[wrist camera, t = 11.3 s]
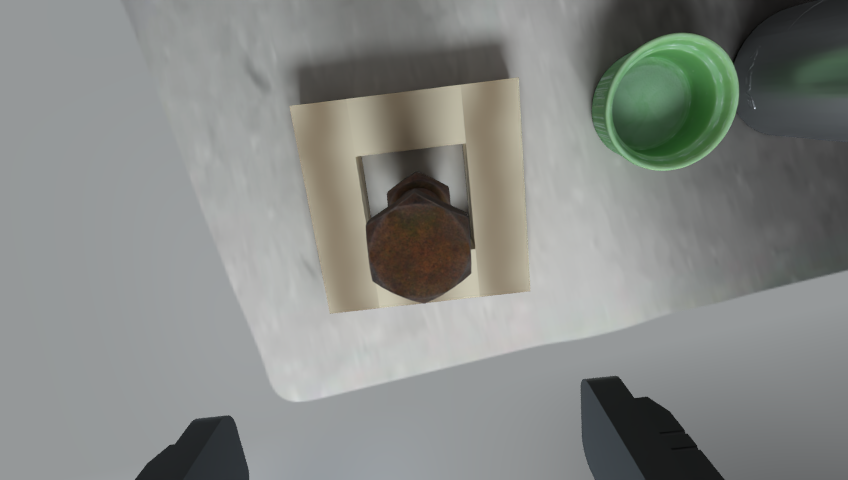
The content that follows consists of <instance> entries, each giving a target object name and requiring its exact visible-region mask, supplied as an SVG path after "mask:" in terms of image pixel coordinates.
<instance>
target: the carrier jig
mask: <svg viewBox="0 0 848 480" xmlns="http://www.w3.org/2000/svg"><path fill="white" fill-rule="evenodd" d="M290 111H291V117H292V122H293V127H294V132H295V137H296V142H297V147H298V152H299V157H300V163H301V168H302V173H303V178H304V183H305V188H306V193H307V198H308V203H309V209H310V214H311V219H312V224H313V229H314V234H315V239H316V244H317V249H318V254H319V260H320V265H321V270H322V275H323V280H324V285H325V290H326V295H327V300H328V306H329V311H330V314H331V313H340V312H349V311H358V310H367V309H376V308H385V307H394V306H403V305H412V304H420V303H419V302H415V301H412V300H409V299H406V298H403V297H401V296H398V295H396V294H393V293H391V292H389V291H388V290H386V289H384V288H382V287H381V286H379V285H377V284H376V283H374V282H373V281H372V277H371V273H370V267H369V259H368V250H367V241H366V224H367V222H368V220H369V219H371V215H370V209H369V202H368V196H367V190H366V183H365V177H364V171H363V164H362V158H361V156H366V155H374V154H382V153H390V152H399V151H407V150H415V149H423V148H432V147H440V146H448V145H456V144H463V154H464V165H465V176H466V186H467V197H468V208H469V219H470V230H471V238H470V244H471V263H472V265H471V274H470V275H469V276H468V277H467V278H466V279H464V280H463V281H462V282H461V283H459V284H458V285H457V286H455V287H454V288H452V289H451V290H449V291H448V292H446V293H445V294H443V295H442V296H440V297H438V298H436V299H434V300H432V301H429V302H438V301H447V300H456V299H465V298H474V297H483V296H492V295H501V294H510V293H518V292H527V291H530V276H529V258H528V240H527V222H526V204H525V186H524V168H523V149H522V131H521V113H520V95H519V77H518V78H510V79H502V80H494V81H486V82H478V83H470V84H462V85H454V86H446V87H438V88H430V89H422V90H414V91H406V92H398V93H390V94H382V95H374V96H366V97H358V98H350V99H342V100H334V101H326V102H318V103H310V104H302V105H294V106H290ZM429 302H427V303H429Z"/></svg>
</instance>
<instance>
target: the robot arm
mask: <svg viewBox="0 0 848 480" xmlns="http://www.w3.org/2000/svg"><path fill="white" fill-rule="evenodd" d="M734 67H735V70H736V72H737V76H738V82H739V101H738V106H737V113H738V115H739V116H740V118H741V119H742V120H743V121H744V122H745V123H746V124H747V125H748V126H750V127H751V128H753V129H754V130H756V131H758V132H761V133H764V134H767V135H775V136H786V137H797V138H808V139H816V140H827V141H839V142H848V0H816V1H812V2H808V3H805V4H801V5H797V6H793V7H790V8H787V9H785V10H782V11H779V12H777V13H776V14H774V15H772V16H770V17H769V18H767V19H766V20H765V21H763V22H762V23H761V24H760V25H759V26H757V27H756V28H755V29H754V31H753V32H752V33H751V34H750V35H749V36H748V38H747V39H746V40H745V42H744V43H743V45H742V47H741V49H740V50H739V52H738V54H737V57H736V59H735V62H734ZM581 415H582V416H581V419H582V442H583V447H584V452H585V456H586V459H587V462H588V465H589V468H590V470H591V472H592V474H593V476H594V479H595V480H724V478H723V477H722V476H721V475H720V473H719V472H718V471H717V470H716V469H715V467H714V466H713V465H712V464H711V462H710V461H709V460H708V459H707V457H706V456H705V455H704V454H703V452H702V451H701V450H698V448H697V445H696V444H695V442H694V441H693V440H692V439H691V437H690V436H689V435H688V434H685V430H684V429H683V428H682V426H681V425H680V424H679V423H678V421H677V420H676V419H675V418H674V416H673V415H672V414H671V413H670V411H668V410H667V409H665V408H664V407H662V406H660V405H659V404H657V403H656V402H654V401H653V400H651V399H650V398H648V397H641V398H634V397H633V396H632V394H631V393H630V392H629V390H628V389H627V388H626V386H625V385H624V383H623V382H622V381H621V379H620V378H619V377H618V376H610V377H600V378H592V379H583V380H582V382H581ZM135 480H249V470H248V466H247V462H246V459H245V455H244V452H243V448H242V445H241V441H240V438H239V435H238V431H237V427H236V424H235V422H234V419H233V418H232V417H231V416H218V417H209V418H201V419H200V418H199V419H195V420H193V421H192V422H191V423H190V425H189V426H188V427H187V429H186V430H185V431H184V433H183V434H182V436H181V437H180V438H179V440H178V441H177V442H176V444H175V445H169V446H168V447H167V448H166V449H164V450H163V451H162V452H161V453H160V454H158V455H157V456H156V457H155V458H154V459H152V460H151V461H150V462H149V463H147V465H146V466H145V467H144V469H143V470H142V471H141V472H140V474H139V475H138V476H137V478H136V479H135Z"/></svg>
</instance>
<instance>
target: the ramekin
mask: <svg viewBox="0 0 848 480" xmlns="http://www.w3.org/2000/svg"><path fill="white" fill-rule="evenodd" d="M738 101H739V82H738V76H737V72H736V70H735V67H734V64H733V62H732V60H731V59H730V57H729V56H728V54H727V53H726V52H725V51H724V50H723V49H722V48H721V47H720V46H719V45H718V44H717V43H715V42H714V41H712V40H710V39H708V38H706V37H704V36H701V35H697V34H693V33H672V34H667V35H663V36H660V37H657V38H655V39H653V40H651V41H649V42H647V43H645V44H643V45H642V46H640V47H639V48H637V49H636V50H635V51H633V52H631V53H629V54H627V55H625V56H623V57H622V58H620V59H619V60H617V61H616V62H615V63H614V64H613V65H612V66H611V67H610V68H609V69H608V70H607V71H606V72H605V73H604V75H603V76H602V78H601V79H600V81H599V83H598V85H597V87H596V90H595V93H594V97H593V103H592V119H593V123H594V127H595V130H596V132H597V134H598V136H599V137H600V139H601V140H602V142H603V143H604V144H605V145H606V146H607V147H608V148H609V149H611V150H612V151H613V152H615V153H617V154H619V155H621V156H623V157H624V158H625V159H627V160H628V161H630V162H631V163H633V164H635V165H637V166H640V167H643V168H646V169H651V170H658V171H667V170H675V169H679V168H683V167H686V166H689V165H691V164H693V163H695V162H697V161H699V160H700V159H702V158H703V157H705V156H706V155H707V154H709V153H710V152H711V151H712V150H713V149H714V148H715V147H716V146H717V145H718V144H719V143H720V142H721V140H722V139H723V138H724V136H725V135H726V133H727V131H728V130H729V128H730V126H731V124H732V121H733V119H734V117H735V114H736V111H737V106H738Z"/></svg>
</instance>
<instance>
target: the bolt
mask: <svg viewBox="0 0 848 480" xmlns="http://www.w3.org/2000/svg"><path fill="white" fill-rule="evenodd" d="M387 201H388V207H387V208H385V209H384V210H383V211H381V212H380V213H378V214H377V215H375V216H374V217H372V218H371V219H369V220H368V222H367V224H366V241H367V250H368V259H369V267H370V273H371V277H372V281H373V282H374V283H376V284H377V285H379V286H381V287H382V288H384V289H386V290H388V291H389V292H391V293H393V294H396V295H398V296H401V297H403V298H406V299H409V300H412V301H415V302H419V303H427V302H429V301H432V300H434V299H436V298H438V297H440V296H442V295H443V294H445V293H446V292H448V291H449V290H451V289H452V288H454V287H455V286H457V285H458V284H459V283H461V282H462V281H463V280H464V279H466V278H467V277H468V276H469V275H470V274H471V265H472V263H471V244H470V229H469V219H468V216H467V213H466V212H464V211H462V210H460V209H458V208H455V207H453V206H451V205H450V194H449V187H448V186H446V185H444V184H443V183H441V182H439V181H437V180H435V179H433V178H431V177H428V176H426V175H424V174H421V173H419V172H415V173H414V174H412V175H410V176H409V177H407V178H406V179H404V180H403V181H401V182H400V183H399V184H397V185H396V186H395V187H393V188H392V189H391V190H389V191H388V193H387Z"/></svg>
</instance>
